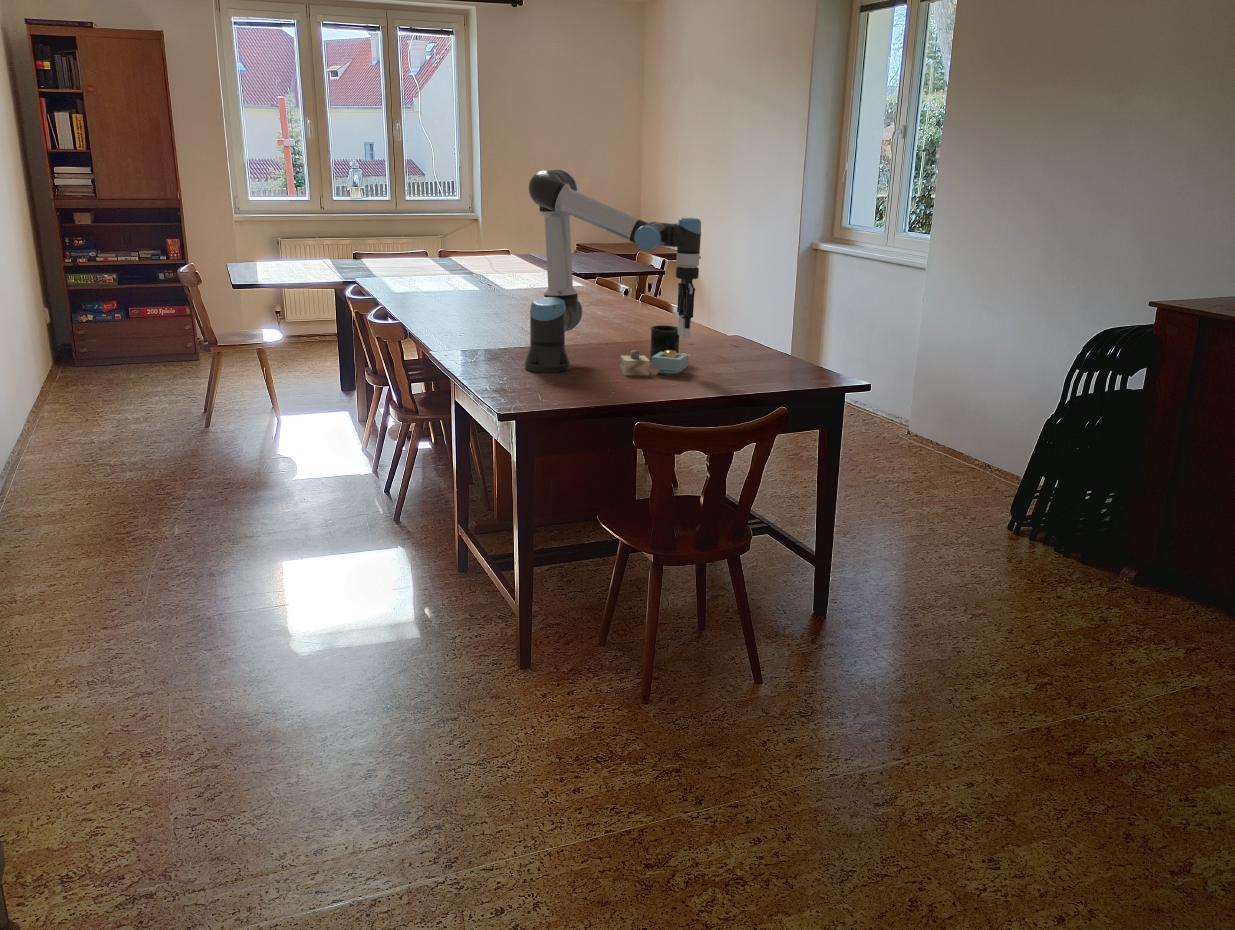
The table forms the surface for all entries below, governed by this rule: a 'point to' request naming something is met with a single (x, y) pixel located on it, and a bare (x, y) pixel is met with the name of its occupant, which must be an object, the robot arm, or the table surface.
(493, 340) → the table surface
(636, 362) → the stand
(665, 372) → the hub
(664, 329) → the mug
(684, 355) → the teal square ring
